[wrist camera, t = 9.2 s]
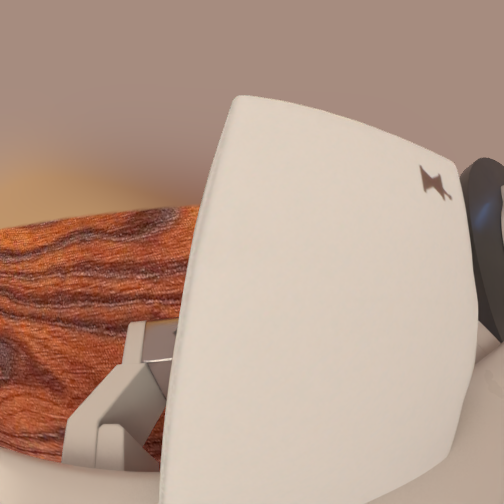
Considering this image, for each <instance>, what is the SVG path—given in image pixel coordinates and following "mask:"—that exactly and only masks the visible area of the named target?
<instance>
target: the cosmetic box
mask: <svg viewBox="0 0 504 504" xmlns="http://www.w3.org/2000/svg"><path fill="white" fill-rule="evenodd" d="M477 330H478V299H477V293H476V286H475V279H474V273H473V262H472V251H471V242H470V234H469V228H468V221H467V214H466V208H465V202H464V197H463V192H462V188H461V183H460V179H459V175H458V171H457V168H456V166H455V164H454V163H453V162H452V161H450V160H448V159H446V158H445V157H443V156H441V155H438V154H436V153H434V152H432V151H430V150H428V149H426V148H423V147H421V146H419V145H416V144H414V143H412V142H410V141H408V140H405V139H403V138H400V137H398V136H395V135H393V134H390V133H388V132H385V131H383V130H380V129H378V128H375V127H372V126H370V125H367V124H364V123H362V122H359V121H356V120H353V119H350V118H346V117H343V116H340V115H337V114H333V113H330V112H327V111H323V110H320V109H316V108H312V107H308V106H304V105H300V104H295V103H291V102H286V101H281V100H275V99H269V98H261V97H255V96H248V95H245V96H244V95H243V96H237V97H236V98H234V99H233V101H232V105H231V107H230V110H229V114H228V116H227V119H226V123H225V126H224V129H223V132H222V135H221V138H220V141H219V144H218V147H217V150H216V153H215V156H214V159H213V162H212V165H211V169H210V172H209V175H208V179H207V183H206V186H205V190H204V194H203V198H202V202H201V205H200V209H199V213H198V217H197V221H196V225H195V230H194V235H193V240H192V245H191V250H190V256H189V261H188V267H187V273H186V279H185V284H184V290H183V296H182V302H181V308H180V314H179V321H178V327H177V334H176V340H175V346H174V352H173V359H172V365H171V372H170V379H169V387H168V394H167V402H166V411H165V421H164V431H163V442H162V453H161V466H160V483H159V502H158V504H364V503H367V502H369V501H371V500H374V499H376V498H378V497H380V496H382V495H384V494H387V493H389V492H391V491H393V490H395V489H397V488H399V487H401V486H403V485H404V484H406V483H408V482H410V481H412V480H414V479H415V478H417V477H419V476H421V475H422V474H424V473H426V472H427V471H429V470H430V469H432V468H433V467H434V466H436V465H437V464H439V463H440V462H441V461H442V460H444V459H445V458H446V457H447V455H448V454H449V452H450V449H451V446H452V443H453V440H454V437H455V433H456V430H457V426H458V422H459V418H460V414H461V410H462V405H463V402H464V399H465V395H466V392H467V389H468V386H469V383H470V380H471V377H472V373H473V369H474V364H475V357H476V348H477Z"/></svg>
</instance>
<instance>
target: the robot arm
mask: <svg viewBox="0 0 504 504" xmlns="http://www.w3.org/2000/svg"><path fill="white" fill-rule="evenodd" d="M501 195H502V201H503V206H502V212H501V228H502V237H503V243H504V185H503V186H501ZM178 321H179V317H174V318H165V319H155V320H147V321H137V322H131V323H130V324H129V326H128V331H127V336H126V341H125V347H124V353H123V359H122V364H120V365H116V366H115V367H114V369H113V370H112V371H111V372H110V373H109V374H108V375H107V376H106V377H105V378H104V380H103V381H102V382H101V383H100V384H99V385H98V386H97V387H96V388H95V389H94V391H93V392H92V393H91V394H90V395H89V396H88V397H87V398H86V400H85V401H84V402H83V403H82V404H81V405H80V406H79V407H78V408H77V410H76V411H75V412H74V413H73V414H72V415H71V416H70V418H69V419H68V420H67V426H66V432H65V438H64V445H63V452H62V461H61V463H58V462H54V461H49V460H45V459H41V458H37V457H33V456H29V455H26V454H22V453H19V452H16V451H13V450H10V449H7V448H4V447H1V446H0V504H158V502H159V483H160V471H159V462H157V461H156V460H155V459H154V458H153V457H152V456H151V455H150V454H149V453H148V452H147V451H146V450H145V449H144V448H143V445H144V444H145V442H146V440H147V438H148V437H149V435H150V433H151V431H152V429H153V428H154V426H155V424H156V422H157V421H158V419H159V417H160V415H161V414H162V412H163V410H164V408H165V407H166V402H167V394H168V387H169V379H170V372H171V365H172V359H173V352H174V346H175V340H176V334H177V327H178ZM364 504H504V342H502V343H500V342H499V341H498V340H497V339H496V338H495V337H494V336H493V335H492V334H491V333H490V331H489V330H488V329H487V328H486V327H485V326H484V325H483V324H482V323H481V322H480V321H478V330H477V348H476V357H475V364H474V369H473V373H472V377H471V380H470V383H469V386H468V389H467V392H466V395H465V399H464V402H463V405H462V410H461V414H460V418H459V422H458V426H457V430H456V433H455V437H454V440H453V443H452V446H451V449H450V452H449V454H448V455H447V457H446V458H445V459H444V460H442V461H441V462H440V463H439V464H437V465H436V466H434V467H433V468H432V469H430V470H429V471H427V472H426V473H424V474H422V475H421V476H419V477H417V478H415V479H414V480H412V481H410V482H408V483H406V484H404V485H403V486H401V487H399V488H397V489H395V490H393V491H391V492H389V493H387V494H384V495H382V496H380V497H378V498H376V499H374V500H371V501H369V502H367V503H364Z"/></svg>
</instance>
